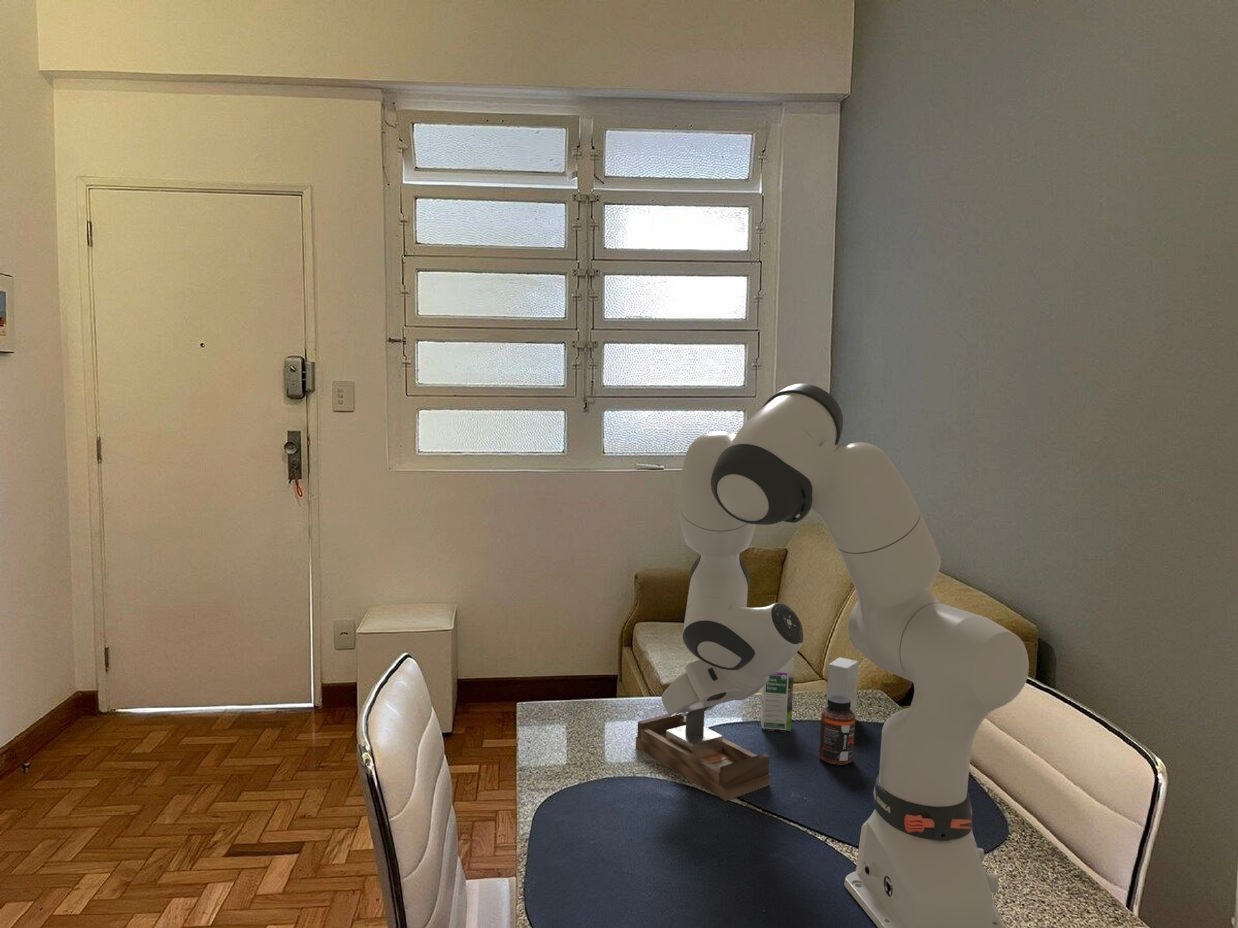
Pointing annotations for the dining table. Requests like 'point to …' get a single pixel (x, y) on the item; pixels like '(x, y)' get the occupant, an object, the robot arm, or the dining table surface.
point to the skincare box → (843, 680)
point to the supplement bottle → (837, 731)
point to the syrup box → (778, 699)
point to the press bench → (704, 760)
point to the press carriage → (696, 736)
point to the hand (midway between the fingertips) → (693, 709)
